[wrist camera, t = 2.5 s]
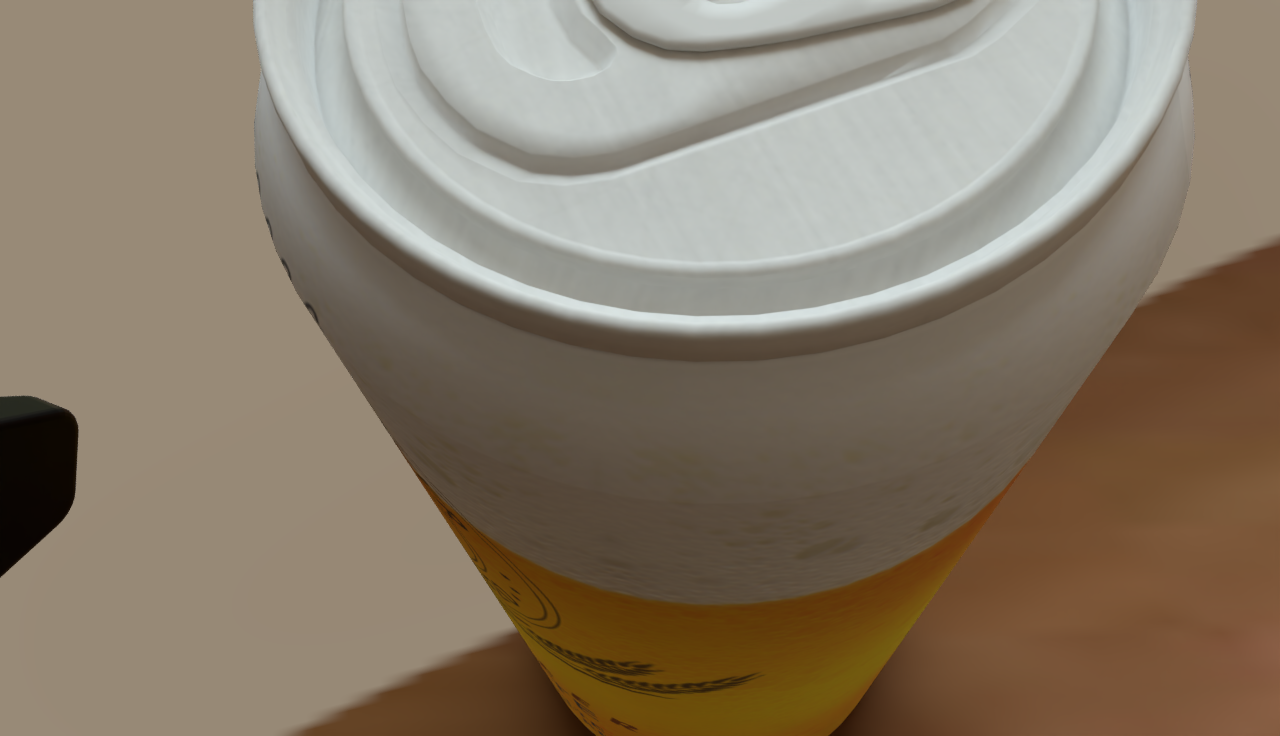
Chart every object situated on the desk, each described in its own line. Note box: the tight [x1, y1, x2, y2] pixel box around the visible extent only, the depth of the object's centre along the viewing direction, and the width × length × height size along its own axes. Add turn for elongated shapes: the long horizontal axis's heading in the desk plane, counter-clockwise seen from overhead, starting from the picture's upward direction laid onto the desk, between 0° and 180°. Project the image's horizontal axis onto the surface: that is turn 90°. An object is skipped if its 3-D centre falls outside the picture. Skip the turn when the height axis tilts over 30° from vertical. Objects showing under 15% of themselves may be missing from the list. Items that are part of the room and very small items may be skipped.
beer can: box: [253, 0, 1197, 736], centre depth 13 cm, size 6×6×15 cm
